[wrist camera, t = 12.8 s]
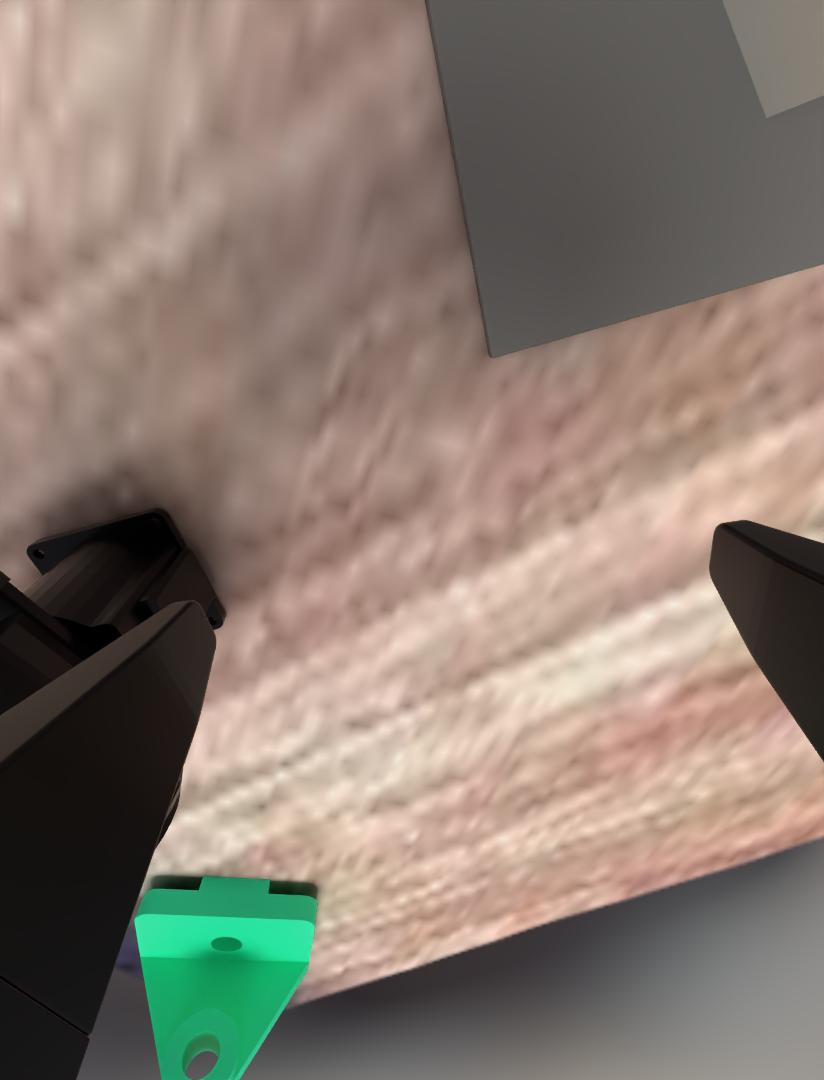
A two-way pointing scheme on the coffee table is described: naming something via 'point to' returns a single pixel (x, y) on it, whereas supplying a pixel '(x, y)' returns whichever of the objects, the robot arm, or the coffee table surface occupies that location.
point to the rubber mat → (617, 161)
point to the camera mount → (220, 968)
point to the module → (781, 49)
